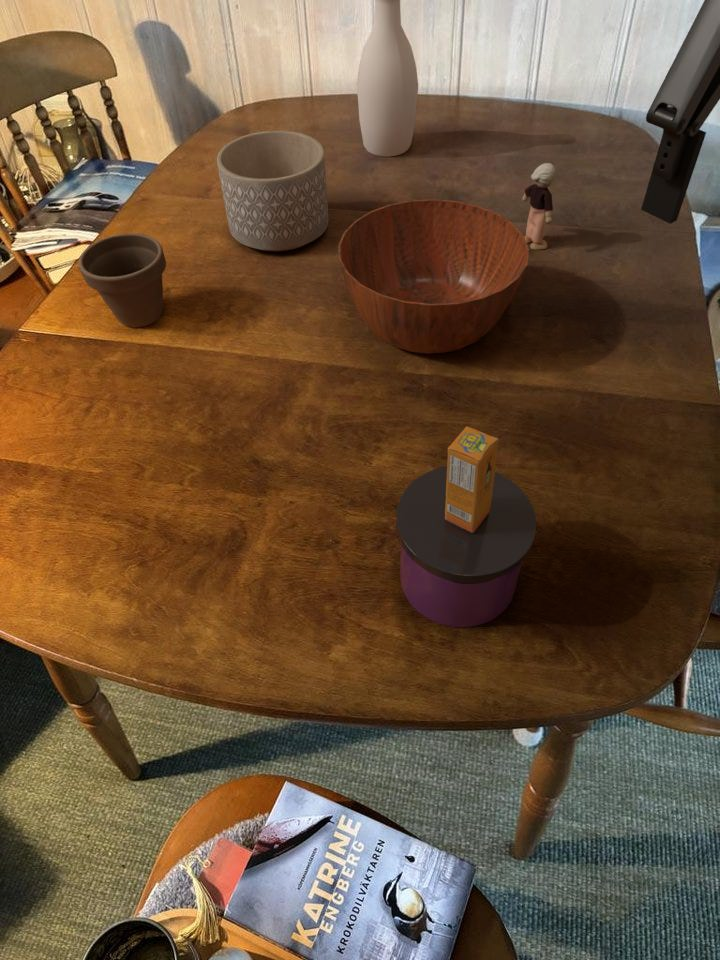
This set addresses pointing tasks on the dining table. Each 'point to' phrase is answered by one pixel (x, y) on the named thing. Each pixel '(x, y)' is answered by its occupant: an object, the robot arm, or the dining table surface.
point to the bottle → (387, 84)
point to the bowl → (432, 272)
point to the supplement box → (470, 478)
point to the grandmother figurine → (539, 205)
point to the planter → (274, 189)
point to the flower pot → (127, 276)
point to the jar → (462, 552)
